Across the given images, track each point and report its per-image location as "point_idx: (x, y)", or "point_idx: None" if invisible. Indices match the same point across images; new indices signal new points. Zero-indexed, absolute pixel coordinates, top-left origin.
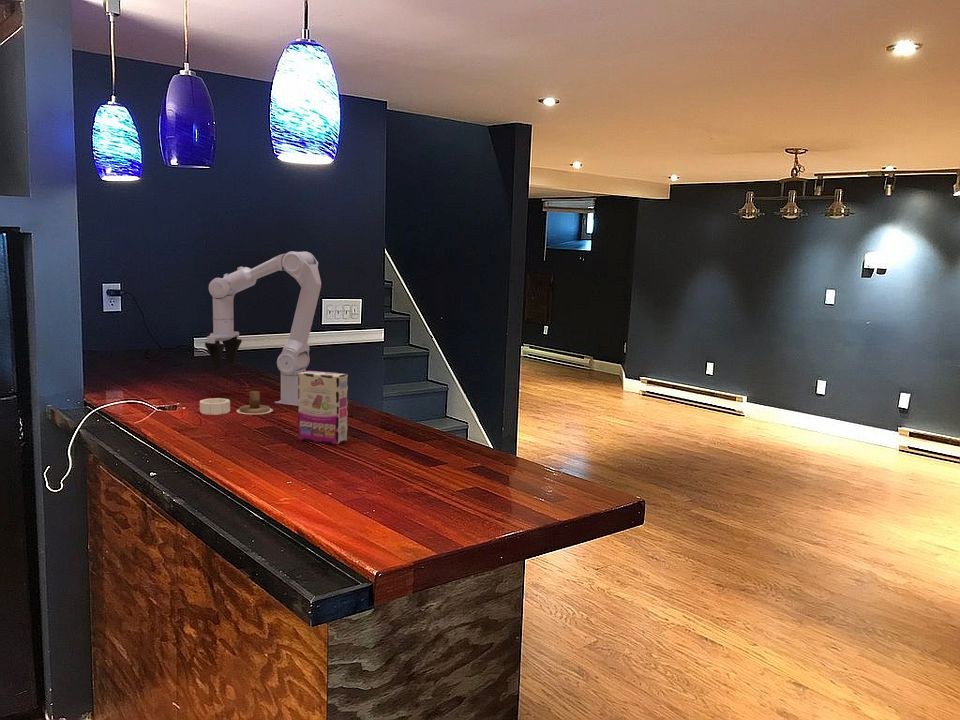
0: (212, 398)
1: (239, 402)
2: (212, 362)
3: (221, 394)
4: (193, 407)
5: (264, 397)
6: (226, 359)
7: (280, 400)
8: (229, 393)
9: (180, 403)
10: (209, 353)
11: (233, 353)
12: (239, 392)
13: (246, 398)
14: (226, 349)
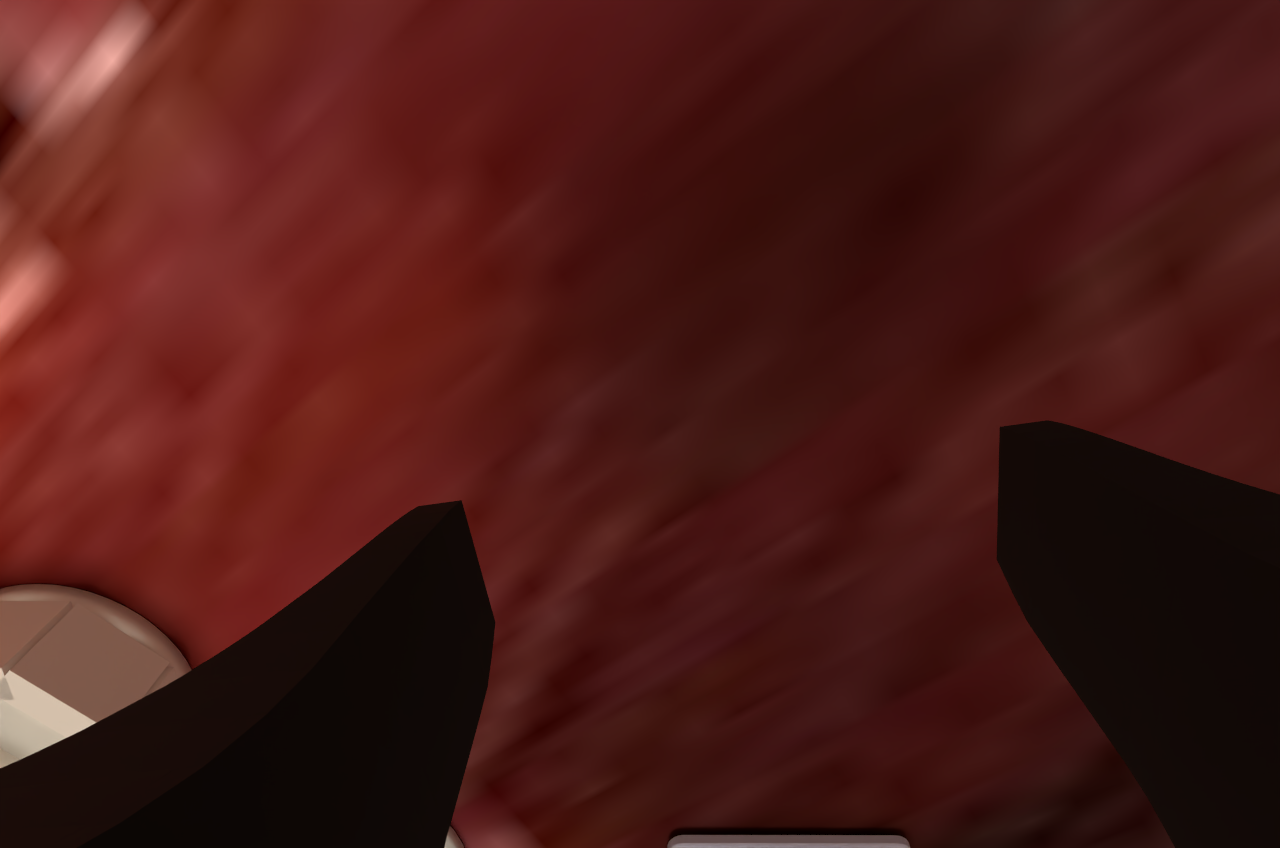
0: (50, 699)
1: (579, 577)
2: (366, 550)
3: (865, 136)
4: (100, 367)
5: (912, 625)
6: (1041, 445)
7: (765, 846)
8: (968, 181)
9: (125, 83)
10: (183, 678)
11: (1128, 718)
12: (1078, 247)
13: (785, 520)
14: (1224, 601)
